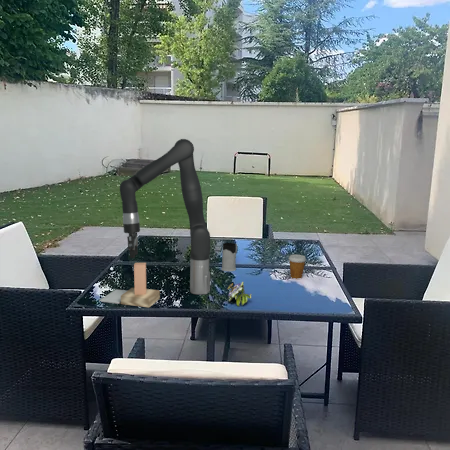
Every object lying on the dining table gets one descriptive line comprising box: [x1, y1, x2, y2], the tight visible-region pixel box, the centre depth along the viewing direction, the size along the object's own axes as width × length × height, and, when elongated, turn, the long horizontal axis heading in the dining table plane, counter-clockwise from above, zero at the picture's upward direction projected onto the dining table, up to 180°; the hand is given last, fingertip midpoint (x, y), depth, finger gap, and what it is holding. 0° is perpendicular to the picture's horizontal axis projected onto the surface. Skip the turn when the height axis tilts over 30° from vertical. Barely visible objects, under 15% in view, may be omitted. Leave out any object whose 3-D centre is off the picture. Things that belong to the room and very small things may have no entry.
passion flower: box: [226, 281, 252, 307], centre depth 212 cm, size 11×11×12 cm
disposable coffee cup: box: [288, 254, 307, 279], centre depth 251 cm, size 10×10×12 cm
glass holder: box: [221, 242, 238, 272], centre depth 266 cm, size 9×14×15 cm, turn 152°
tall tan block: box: [133, 262, 147, 295], centre depth 209 cm, size 5×4×14 cm
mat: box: [98, 288, 128, 305], centre depth 216 cm, size 10×16×1 cm, turn 165°
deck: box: [120, 287, 161, 308], centre depth 210 cm, size 14×12×4 cm
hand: (134, 256), depth 215 cm, fingers open, 8 cm apart
